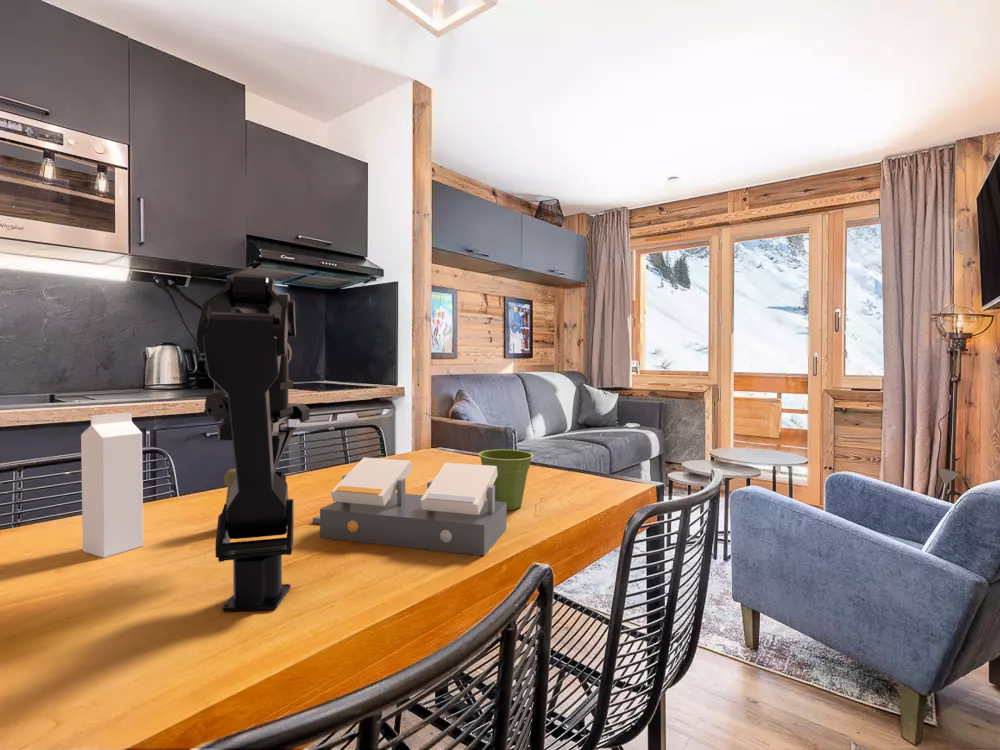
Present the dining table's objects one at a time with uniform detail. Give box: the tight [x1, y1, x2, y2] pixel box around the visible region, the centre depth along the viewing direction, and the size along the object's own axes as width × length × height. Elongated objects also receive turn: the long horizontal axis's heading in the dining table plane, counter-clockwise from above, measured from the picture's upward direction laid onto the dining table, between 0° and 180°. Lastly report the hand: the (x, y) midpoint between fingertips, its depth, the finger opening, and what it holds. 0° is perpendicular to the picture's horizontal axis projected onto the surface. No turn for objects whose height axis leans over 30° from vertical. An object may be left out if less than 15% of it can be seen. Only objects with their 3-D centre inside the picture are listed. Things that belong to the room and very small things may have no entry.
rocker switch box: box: [312, 473, 508, 557], centre depth 96 cm, size 14×36×10 cm, turn 75°
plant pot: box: [478, 449, 534, 511], centre depth 113 cm, size 12×12×11 cm
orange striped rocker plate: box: [330, 456, 413, 506], centre depth 97 cm, size 12×10×2 cm
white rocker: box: [421, 462, 498, 515], centre depth 93 cm, size 12×10×2 cm
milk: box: [80, 412, 144, 559], centre depth 86 cm, size 6×6×22 cm
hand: (269, 475), depth 82 cm, fingers closed
